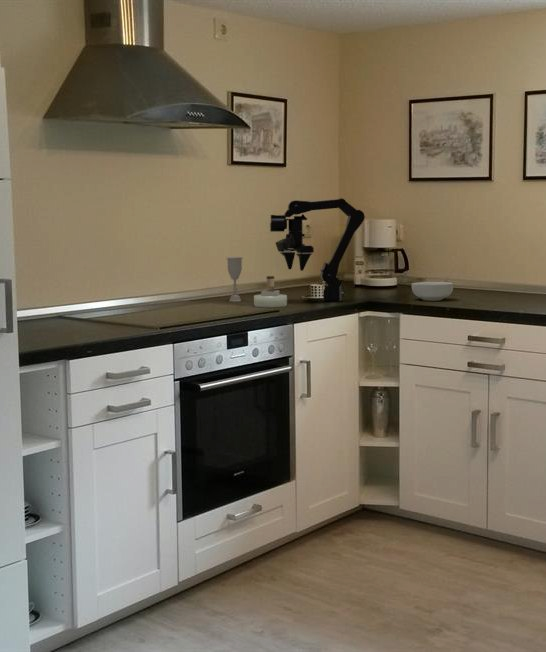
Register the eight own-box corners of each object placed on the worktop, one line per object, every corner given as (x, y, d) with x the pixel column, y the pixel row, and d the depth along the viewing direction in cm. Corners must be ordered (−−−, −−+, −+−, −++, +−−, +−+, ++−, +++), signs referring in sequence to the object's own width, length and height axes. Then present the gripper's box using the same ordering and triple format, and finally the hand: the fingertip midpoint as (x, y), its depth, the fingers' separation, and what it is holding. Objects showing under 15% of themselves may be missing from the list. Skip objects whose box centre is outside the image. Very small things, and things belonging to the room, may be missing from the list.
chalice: (241, 301, 395) (240, 258, 393) (225, 301, 396) (224, 258, 394) (245, 300, 402) (244, 257, 400) (229, 299, 403) (228, 257, 401)
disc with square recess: (291, 304, 382) (291, 289, 381) (280, 307, 370) (280, 292, 369) (260, 303, 386) (260, 289, 385) (249, 306, 374) (249, 292, 373)
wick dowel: (275, 295, 378) (275, 276, 377) (272, 296, 375) (272, 276, 374) (268, 294, 379) (268, 275, 378) (265, 295, 377) (265, 276, 375)
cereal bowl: (457, 298, 398) (457, 281, 397) (447, 302, 383) (447, 284, 382) (417, 297, 405) (418, 280, 405) (406, 301, 390) (406, 283, 390)
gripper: (266, 231, 393) (267, 269, 395) (290, 232, 377) (290, 272, 379) (290, 230, 398) (290, 268, 400) (314, 231, 382) (314, 270, 384)
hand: (295, 270), depth 391 cm, fingers open, 9 cm apart
